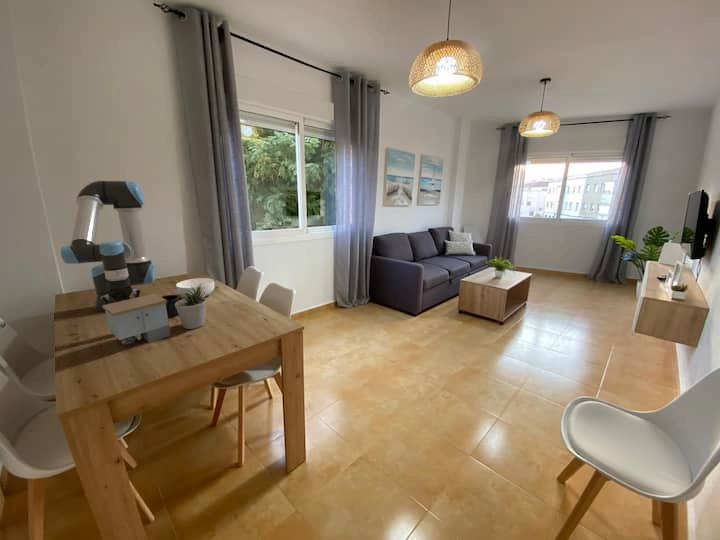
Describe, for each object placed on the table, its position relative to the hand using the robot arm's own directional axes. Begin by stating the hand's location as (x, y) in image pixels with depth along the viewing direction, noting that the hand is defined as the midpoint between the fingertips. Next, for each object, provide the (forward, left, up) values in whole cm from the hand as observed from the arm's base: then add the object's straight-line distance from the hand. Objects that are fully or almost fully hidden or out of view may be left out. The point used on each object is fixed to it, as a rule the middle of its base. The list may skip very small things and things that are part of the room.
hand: (128, 329), depth 130 cm
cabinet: (+13, +1, -1) cm, 13 cm away
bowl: (-23, +41, -1) cm, 47 cm away
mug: (-4, +19, -1) cm, 19 cm away
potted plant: (+17, +21, -1) cm, 27 cm away
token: (+11, -3, -1) cm, 12 cm away
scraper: (+6, 0, 0) cm, 6 cm away
